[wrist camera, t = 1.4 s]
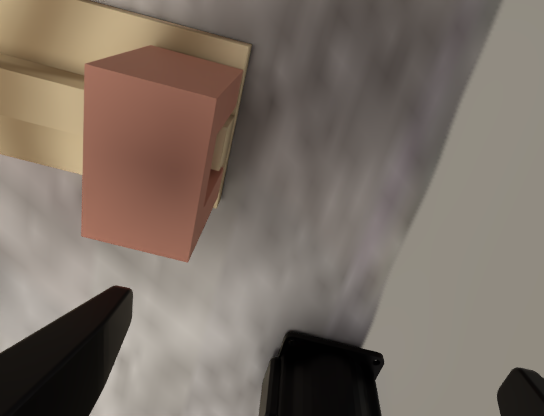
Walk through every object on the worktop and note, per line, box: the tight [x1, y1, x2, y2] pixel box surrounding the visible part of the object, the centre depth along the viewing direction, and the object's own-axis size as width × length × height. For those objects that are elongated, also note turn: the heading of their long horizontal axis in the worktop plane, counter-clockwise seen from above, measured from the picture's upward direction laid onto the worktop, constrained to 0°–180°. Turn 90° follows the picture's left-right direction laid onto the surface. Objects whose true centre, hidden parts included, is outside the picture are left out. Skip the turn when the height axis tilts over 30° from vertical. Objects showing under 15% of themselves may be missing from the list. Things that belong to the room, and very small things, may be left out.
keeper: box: [81, 45, 243, 262], centre depth 16 cm, size 4×6×6 cm, turn 166°
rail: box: [0, 0, 252, 208], centre depth 16 cm, size 18×8×7 cm, turn 76°
